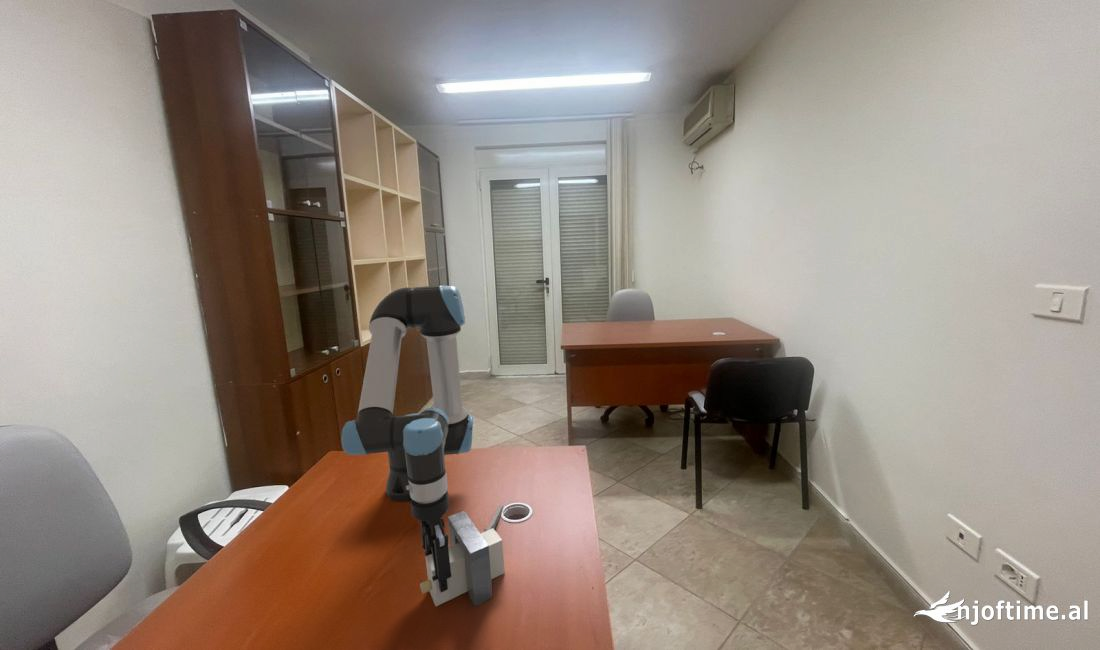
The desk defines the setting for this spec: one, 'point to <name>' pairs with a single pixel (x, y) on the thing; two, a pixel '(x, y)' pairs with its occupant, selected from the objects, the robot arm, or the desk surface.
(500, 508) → the caliper
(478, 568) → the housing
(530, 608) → the desk surface
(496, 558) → the plug
